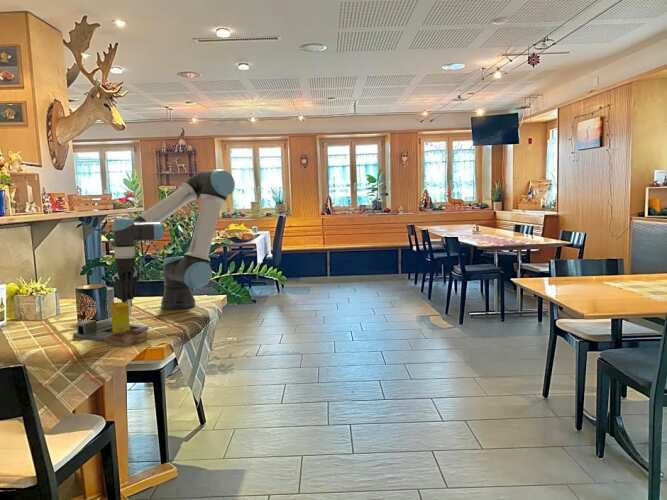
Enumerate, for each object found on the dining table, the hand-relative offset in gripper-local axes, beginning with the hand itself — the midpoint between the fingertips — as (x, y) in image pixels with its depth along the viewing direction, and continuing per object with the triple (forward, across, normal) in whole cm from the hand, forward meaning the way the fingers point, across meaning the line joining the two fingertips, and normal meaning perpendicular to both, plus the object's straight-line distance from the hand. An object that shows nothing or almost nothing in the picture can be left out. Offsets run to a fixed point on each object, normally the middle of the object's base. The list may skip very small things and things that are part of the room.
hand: (127, 315), depth 199 cm
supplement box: (+3, +11, +9) cm, 15 cm away
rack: (+3, +19, +20) cm, 28 cm away
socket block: (+3, +13, +6) cm, 15 cm away
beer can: (+3, -2, -17) cm, 17 cm away
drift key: (+2, +10, 0) cm, 11 cm away
